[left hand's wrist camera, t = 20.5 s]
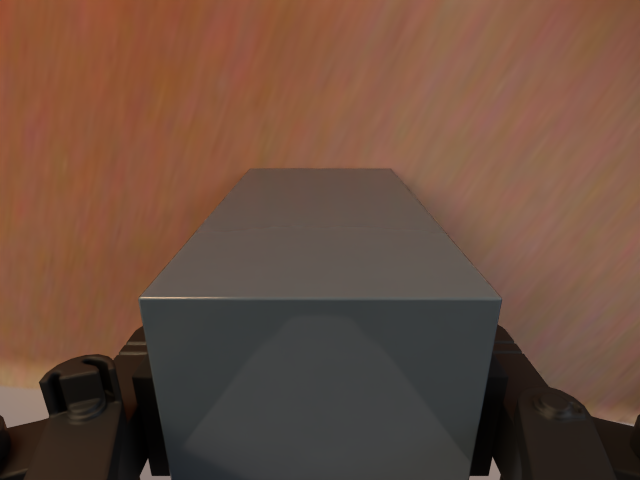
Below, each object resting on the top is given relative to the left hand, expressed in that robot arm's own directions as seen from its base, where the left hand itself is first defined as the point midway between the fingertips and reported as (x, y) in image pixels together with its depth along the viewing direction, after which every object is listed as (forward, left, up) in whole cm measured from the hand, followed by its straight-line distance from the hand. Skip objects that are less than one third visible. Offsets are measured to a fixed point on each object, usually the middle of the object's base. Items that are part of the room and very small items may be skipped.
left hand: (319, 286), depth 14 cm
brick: (0, 0, -4) cm, 4 cm away
